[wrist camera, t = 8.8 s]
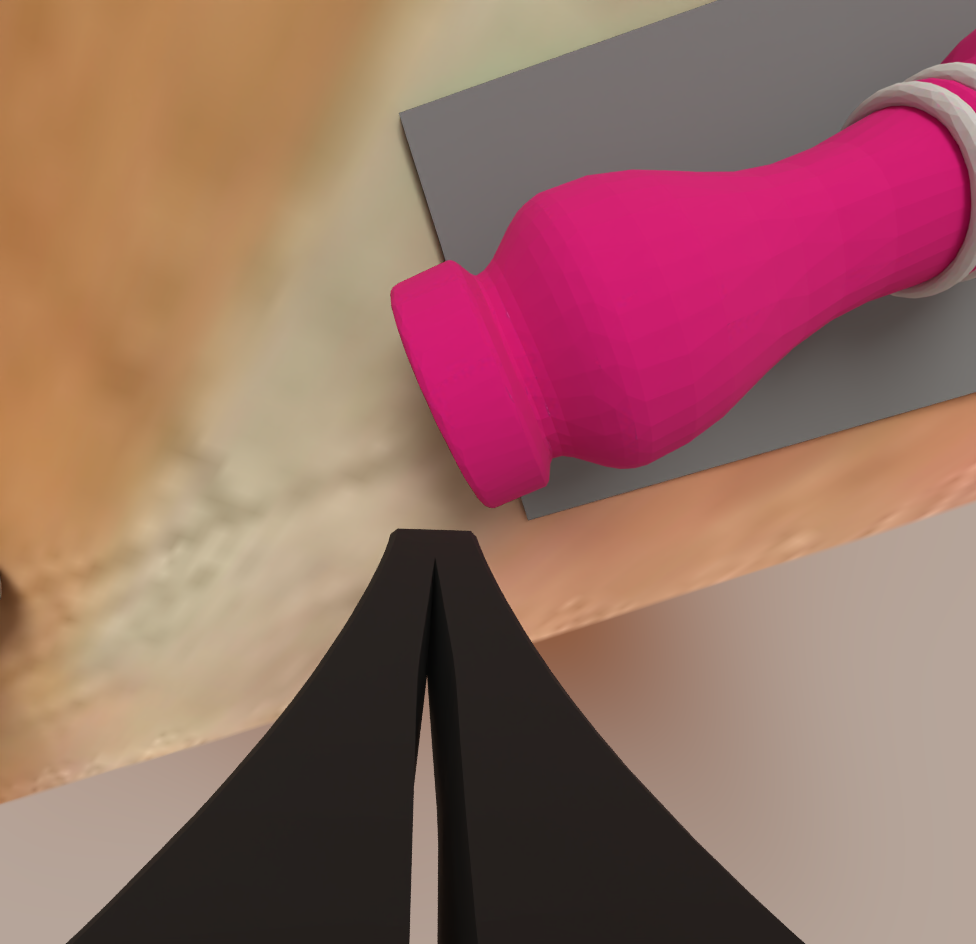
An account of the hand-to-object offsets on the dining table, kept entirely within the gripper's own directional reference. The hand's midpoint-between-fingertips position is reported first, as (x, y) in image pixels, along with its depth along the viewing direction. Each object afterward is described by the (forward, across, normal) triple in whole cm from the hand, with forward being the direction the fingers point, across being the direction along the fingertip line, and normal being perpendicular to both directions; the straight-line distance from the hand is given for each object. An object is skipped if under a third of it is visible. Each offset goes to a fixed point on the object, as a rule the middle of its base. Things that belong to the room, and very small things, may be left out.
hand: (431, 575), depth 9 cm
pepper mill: (+6, 0, 0) cm, 6 cm away
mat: (+10, -11, -4) cm, 15 cm away
